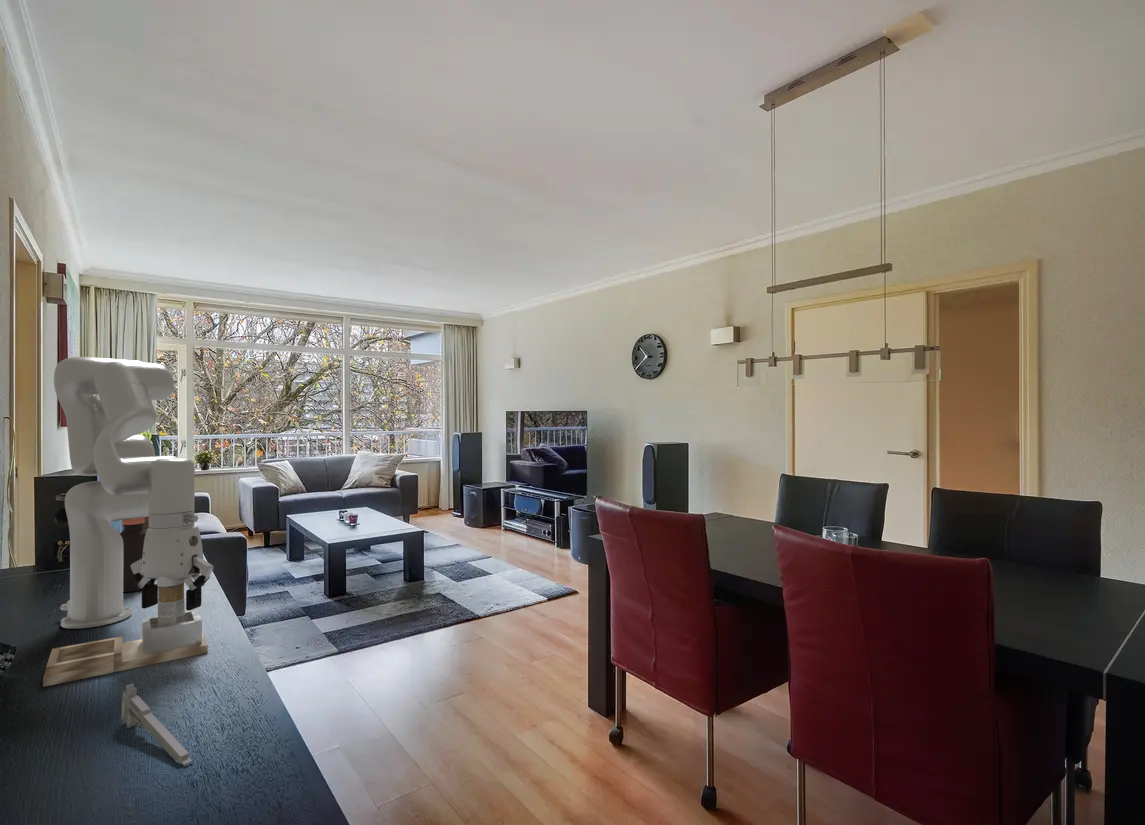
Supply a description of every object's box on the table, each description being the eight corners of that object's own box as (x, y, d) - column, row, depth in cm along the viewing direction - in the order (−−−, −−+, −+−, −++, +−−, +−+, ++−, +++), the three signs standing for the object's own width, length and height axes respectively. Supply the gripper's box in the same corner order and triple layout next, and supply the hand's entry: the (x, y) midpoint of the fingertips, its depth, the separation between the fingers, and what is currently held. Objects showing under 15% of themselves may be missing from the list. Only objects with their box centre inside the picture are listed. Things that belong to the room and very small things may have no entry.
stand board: (43, 686, 101) (43, 669, 101) (50, 664, 110) (50, 647, 110) (207, 652, 115) (207, 637, 115) (201, 635, 125) (201, 620, 125)
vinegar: (154, 587, 162) (155, 513, 162) (130, 594, 156) (131, 517, 156) (135, 585, 164) (135, 513, 164) (110, 592, 157) (111, 517, 157)
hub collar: (142, 655, 110) (142, 631, 110) (141, 640, 118) (142, 618, 118) (202, 644, 116) (202, 620, 116) (197, 630, 123) (197, 609, 123)
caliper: (120, 725, 88) (121, 683, 88) (129, 722, 89) (129, 680, 89) (184, 770, 77) (184, 721, 77) (193, 766, 78) (193, 718, 78)
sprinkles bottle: (174, 636, 120) (174, 570, 120) (190, 639, 118) (190, 572, 118) (151, 645, 115) (151, 576, 116) (168, 647, 114) (168, 578, 114)
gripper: (225, 518, 120) (225, 603, 119) (149, 516, 122) (148, 600, 122) (196, 525, 112) (196, 615, 112) (116, 523, 115) (115, 611, 114)
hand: (171, 607), depth 117 cm, fingers open, 9 cm apart
